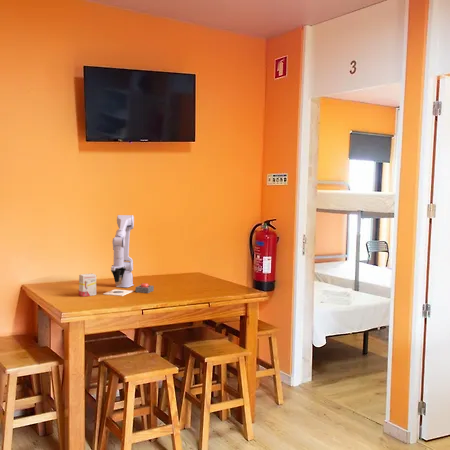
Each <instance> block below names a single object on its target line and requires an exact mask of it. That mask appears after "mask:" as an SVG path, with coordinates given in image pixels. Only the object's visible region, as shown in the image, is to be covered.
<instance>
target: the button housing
mask: <svg viewBox="0 0 450 450" xmlns="http://www.w3.org/2000/svg"><path fill="white" fill-rule="evenodd" d="M151 292H154V285H149V284H148V287H141V284H140V285H138V286H135V293H143V294H150V293H151Z"/></svg>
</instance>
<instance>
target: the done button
mask: <svg viewBox="0 0 450 450" xmlns="http://www.w3.org/2000/svg"><path fill="white" fill-rule="evenodd" d="M140 285H141V287H148V285H149V283H145V282H144V283H143V282H142V283H140Z"/></svg>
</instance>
